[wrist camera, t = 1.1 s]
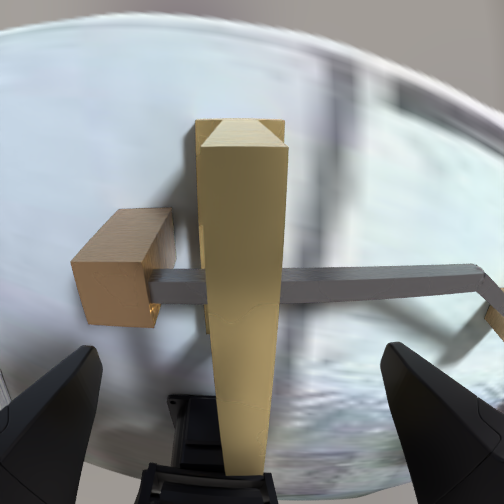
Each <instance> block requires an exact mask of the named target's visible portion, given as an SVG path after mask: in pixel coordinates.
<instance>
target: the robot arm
mask: <svg viewBox="0 0 504 504" xmlns="http://www.w3.org/2000/svg"><path fill="white" fill-rule="evenodd" d="M380 368H381V373H382V377H383V381H384V386H385V390H386V395H387V400H388V404H389V408H390V411H391V414H392V418H393V421H394V424H395V427H396V430H397V433H398V436H399V439H400V442H401V446H402V449H403V452H404V455H405V459H406V462H407V466H408V469H409V472H410V476H411V480H412V483H413V487H414V490H415V494H416V497H417V502H418V504H504V414H503V413H501V412H499V411H498V410H496V409H495V408H493V407H492V406H490V405H489V404H487V403H486V402H485V401H483V400H482V399H480V398H479V397H478V398H477V396H476V395H475V394H473V393H472V392H471V391H469V390H468V389H466V388H465V387H463V386H462V385H461V384H459V383H458V382H456V381H455V380H454V379H452V378H451V377H449V376H448V375H447V374H445V373H444V372H442V371H441V370H439V369H438V368H437V367H435V366H434V365H432V364H431V363H430V362H428V361H427V360H425V359H424V358H422V357H421V356H420V355H418V354H417V353H415V352H414V351H413V350H411V349H410V348H408V347H407V346H405V345H404V344H403V343H401V342H391V343H388V344H387V345H386V348H385V351H384V353H383V356H382V359H381V363H380ZM102 372H103V367H102V363H101V360H100V358H99V355H98V352H97V350H96V348H95V347H94V346H86V345H83V346H81V347H80V348H78V349H77V350H76V351H74V352H73V353H72V354H71V355H69V356H68V357H67V358H65V359H64V360H63V361H62V362H60V363H59V364H58V365H57V366H55V367H54V368H53V369H51V370H50V371H49V372H48V373H46V374H45V375H44V376H43V377H41V378H40V379H39V380H38V381H36V382H35V383H34V384H32V385H31V386H30V387H29V388H27V389H26V390H25V391H24V392H22V393H21V394H20V395H19V396H18V397H16V398H15V399H14V400H13V401H11V402H10V403H9V405H6V406H5V407H4V408H3V409H1V410H0V504H75V501H76V496H77V490H78V486H79V480H80V476H81V471H82V466H83V462H84V458H85V454H86V449H87V445H88V441H89V437H90V433H91V429H92V425H93V421H94V418H95V413H96V408H97V402H98V396H99V390H100V384H101V378H102ZM167 404H168V408H169V411H170V414H171V418H172V421H173V424H174V427H175V435H174V443H173V451H172V460H171V467H169V466H162V465H157V463H151V462H150V463H149V467H148V469H147V470H143V472H142V478H141V484H140V488H139V492H138V495H137V497H136V500H135V503H134V504H278V500H277V496H276V492H275V487H274V483H273V479H272V474H271V473H263V475H247V476H226V474H225V467H224V460H223V452H222V444H221V436H220V428H219V419H218V410H217V401H216V396H184V395H169V396H168V398H167ZM160 491H161V493H160Z"/></svg>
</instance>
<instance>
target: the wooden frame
mask: <svg viewBox="0 0 504 504" xmlns="http://www.w3.org/2000/svg"><path fill="white" fill-rule="evenodd" d="M284 130H285V120H282V119H255V118H222V119H197V120H195V136H196V175H197V201H198V222H199V241H200V257H201V269H205V272H206V287H207V301H208V304H204V312H205V323H206V334H210V339H211V351H212V362H213V372H214V382H215V392H216V401H217V410H218V419H219V428H220V436H221V444H222V452H223V460H224V467H225V474H226V476H247V475H263V471H264V462H265V454H266V445H267V435H268V426H269V416H270V407H271V396H272V386H273V375H274V364H275V353H276V341H277V329H278V317H279V303H280V290H281V276H282V261H283V245H284V229H285V211H286V192H287V172H288V149H289V147H288V146H287V145H286V144H284Z"/></svg>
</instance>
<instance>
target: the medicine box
mask: <svg viewBox="0 0 504 504" xmlns="http://www.w3.org/2000/svg"><path fill="white" fill-rule="evenodd" d="M10 402H11V399H10V397H9V394H8V391H7V389H6V386H5V383H4V380H3V377H2V374H1V370H0V410H1V409H3V408H4V407H5V406H6V405H9V403H10Z"/></svg>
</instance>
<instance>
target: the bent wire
mask: <svg viewBox="0 0 504 504" xmlns="http://www.w3.org/2000/svg"><path fill="white" fill-rule="evenodd" d="M175 262H176V249H175V238H174V227H173V214H172V207H166V208H136V209H118V210H117V211H116V213H115V214H114V215H113V216H112V217H111V218H110V219H109V220H108V221H107V222H106V223H105V224H104V225H103V226H102V227H101V228H100V229H99V230H98V231H97V233H96V234H95V235H94V236H93V237H92V238H91V239H90V240H89V241H88V242H87V243H86V245H85V246H84V247H83V248H82V249H81V250H80V251H79V252H78V254H77V255H76V256H75V257H74V258H73V259H72V260H71V266H72V270H73V274H74V278H75V282H76V285H77V289H78V292H79V296H80V299H81V302H82V306H83V309H84V312H85V315H86V318H87V322H88V324H91V325H106V326H122V327H142V328H154V326H155V323H156V319H157V316H158V313H159V310H160V307H161V304H208V301H207V287H206V272H205V269H173V267H174V264H175ZM475 291H476V292H477V293H478V294H480V295H481V296H482V297H483V298H484V299H485V300H486V301H487V302H488V303H489V304H490V306H489V308H488V311H487V313H486V315H485V318H484V319H485V320H486V321H487V322H488V324H489V325H490V326H491V327H492V328H493V329H494V331H495V332H496V333H497V334H498V335H499V337H500V338H501V339H502V340H503V342H504V288H499V287H498V286H497V284H496V283H495V282H494V281H493V280H492V279H491V278H490V277H489V276H488V275H487V274H486V273H485V272H484V270H483V269H482V268H480V267H478V266H477V265H476V266H475V265H474V264H449V265H417V266H378V267H329V268H282V276H281V290H280V303H279V304H283V303H315V302H340V301H360V300H377V299H393V298H407V297H420V296H433V295H444V294H455V293H465V292H475Z"/></svg>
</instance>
